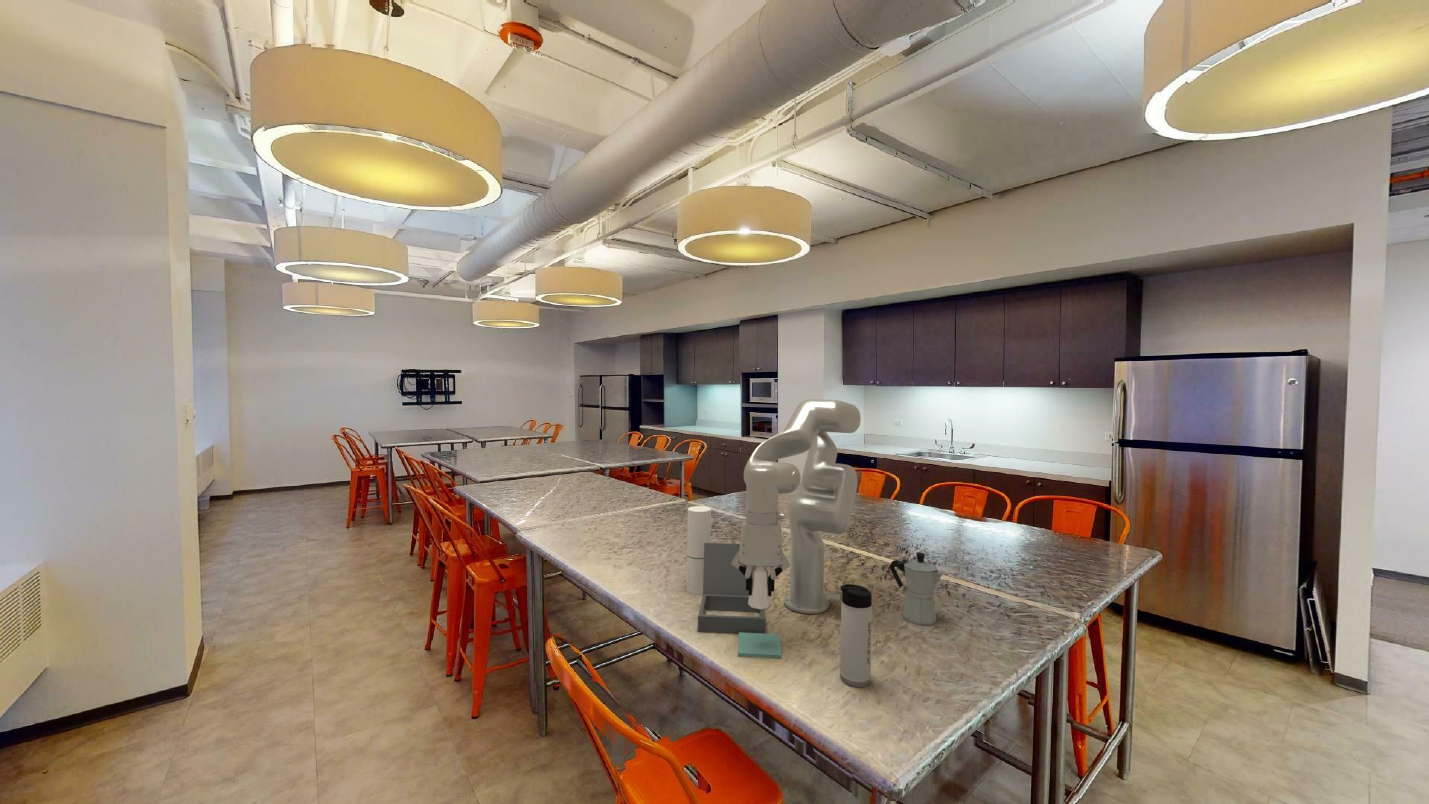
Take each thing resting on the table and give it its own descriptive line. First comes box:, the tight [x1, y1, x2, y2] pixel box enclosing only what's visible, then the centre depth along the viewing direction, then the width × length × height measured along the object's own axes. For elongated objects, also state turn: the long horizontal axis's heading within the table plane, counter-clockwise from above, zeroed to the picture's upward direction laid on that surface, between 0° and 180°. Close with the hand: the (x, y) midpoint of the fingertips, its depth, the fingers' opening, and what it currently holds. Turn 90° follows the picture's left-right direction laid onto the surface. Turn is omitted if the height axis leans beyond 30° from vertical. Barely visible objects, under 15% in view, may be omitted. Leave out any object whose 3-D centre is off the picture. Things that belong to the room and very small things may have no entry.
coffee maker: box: [888, 551, 945, 626], centre depth 139 cm, size 15×9×18 cm, turn 47°
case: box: [697, 594, 766, 635], centre depth 135 cm, size 17×14×4 cm
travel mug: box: [839, 583, 873, 688], centre depth 108 cm, size 6×7×20 cm
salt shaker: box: [748, 566, 771, 610], centre depth 121 cm, size 5×5×11 cm
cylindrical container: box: [686, 505, 712, 595], centre depth 156 cm, size 7×7×25 cm
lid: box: [702, 542, 755, 596], centre depth 144 cm, size 17×14×1 cm
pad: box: [737, 632, 783, 660], centre depth 122 cm, size 10×10×1 cm
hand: (759, 592), depth 121 cm, fingers closed on salt shaker, 4 cm apart
